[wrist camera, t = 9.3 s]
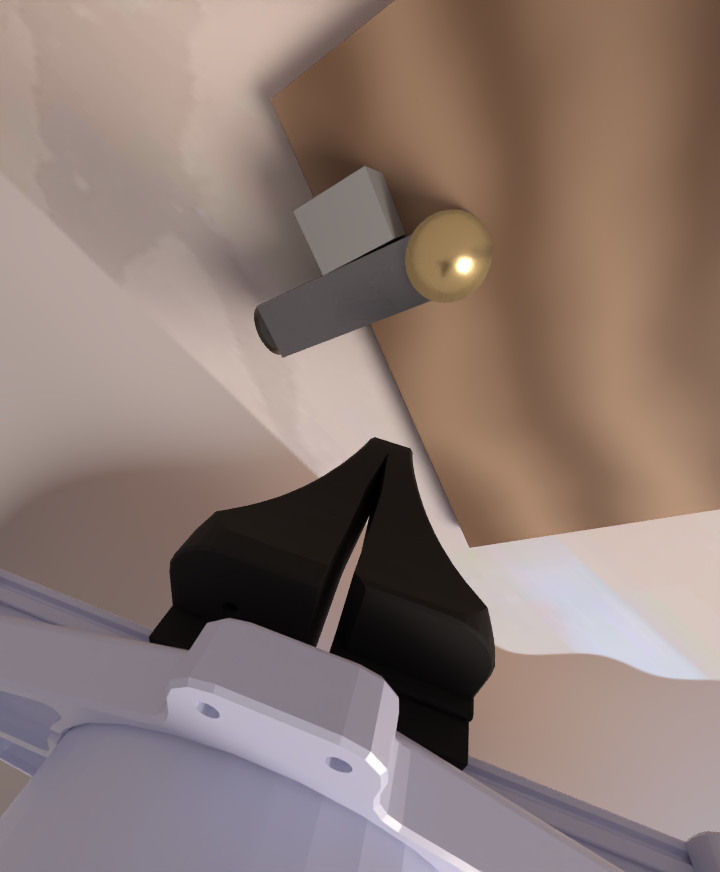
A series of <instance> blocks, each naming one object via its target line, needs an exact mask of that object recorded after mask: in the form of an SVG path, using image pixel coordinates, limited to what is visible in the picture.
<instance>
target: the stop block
mask: <svg viewBox="0 0 720 872" xmlns="http://www.w3.org/2000/svg"><path fill="white" fill-rule="evenodd" d="M293 213H294V215H295V217H296V219H297V221H298V224H299V226H300V228H301V230H302V232H303V234H304V236H305V238H306V241H307V243H308V245H309V247H310V249H311V251H312V253H313V256H314V258H315V260H316V262H317V264H318V266H319V268H320V270H321V273H322V275H325V274H328V273H330V272H332V271H334V270H336V269H338V268H341V267H343V266H345V265H347V264H349V263H351V262H354V261H355V260H357V259H359V258H361V257H363V256H365V255H367V254H369V253H371V252H373V251H375V250H377V249H378V248H380V247H382V246H384V245H386V244H388V243H390V242H392V241H394V240H396V239H398V238H400V237H401V236H403V235H405V231H404V229H403V226H402V223H401V221H400V218H399V216H398V213H397V210H396V208H395V205H394V202H393V200H392V197H391V194H390V192H389V189H388V186H387V184H386V181H385V178H384V176H383V173H381V172H379V171H376V170H374V169H371V168H369V167H366V166H364V167H362V168H361V169H359V170H357V171H356V172H354V173H353V174H351V175H349V176H348V177H346V178H345V179H343V180H342V181H340V182H338V183H337V184H335V185H334V186H332V187H330V188H329V189H327V190H326V191H324V192H322V193H321V194H319V195H318V196H316V197H315V198H313V199H311V200H310V201H308V202H307V203H305V204H303V205H302V206H300V207H299V208H297V209H295V210H294V211H293Z"/></svg>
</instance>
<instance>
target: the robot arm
mask: <svg viewBox="0 0 720 872" xmlns="http://www.w3.org/2000/svg"><path fill="white" fill-rule="evenodd" d="M412 453H413V452H412V451H411V449H410V448H407V447H404V446H401V445H398V444H395V443H391V442H388V441H385V440H382V439H379V438H376V437H374V438H372V439H370V440H369V441H368V442H367V443H366V444H365V445H364V446H363V447H362V448H361V449H360V450H359V451H358V452H357V453H355V454H354V455H353V456H352V457H350V458H349V459H348V460H346V461H345V462H344V463H342V464H341V465H340V466H338V467H337V468H335V469H333V470H332V471H330V472H329V473H327V474H326V475H324V476H322V477H321V478H319V479H317V480H315V481H314V482H312V483H310V484H308V485H306V486H304V487H302V488H299V489H297V490H295V491H292V492H290V493H288V494H285V495H282V496H280V497H277V498H273V499H270V500H267V501H264V502H260V503H257V504H252V505H248V506H243V507H238V508H233V509H228V510H222V511H216V512H215V513H214V514H213V515H212V516H211V517H210V518H208V519H207V520H206V521H205V522H204V523H203V524H202V525H201V526H200V527H198V528H197V529H196V530H195V531H194V532H193V534H192V535H191V536H190V537H189V538H188V539H187V540H186V542H185V543H184V544H183V545H182V546H181V547H180V548H179V550H178V551H177V552H176V553H175V555H174V556H173V558H172V559H171V561H170V581H171V591H172V602H173V606H172V607H171V608H170V610H169V611H168V612H167V614H166V615H165V616H164V618H163V619H162V620H161V622H160V623H159V624H158V625H157V627H156V628H155V629H154V630H152V629H150V628H147V627H144V626H142V625H139V624H137V623H135V622H132V621H130V620H127V619H124V618H122V617H120V616H117V615H115V614H112V613H110V612H107V611H105V610H102V609H100V608H97V607H94V606H92V605H90V604H87V603H85V602H82V601H79V600H77V599H74V598H72V597H69V596H67V595H64V594H62V593H59V592H57V591H54V590H52V589H49V588H47V587H44V586H42V585H39V584H37V583H34V582H32V581H29V580H27V579H24V578H22V577H19V576H17V575H14V574H12V573H9V572H7V571H4V570H2V569H0V760H1V761H3V762H5V763H7V764H9V765H11V766H12V767H14V768H16V769H18V770H20V771H21V772H23V773H25V774H27V775H28V776H30V777H32V778H31V779H30V781H29V782H28V783H27V784H26V786H25V787H24V788H23V790H22V791H21V792H20V794H19V795H18V796H17V797H16V798H15V800H14V801H13V802H12V804H11V805H10V806H9V807H8V809H7V810H6V811H5V812H4V814H3V815H2V816H1V818H0V872H720V833H719V832H709V831H708V832H702V833H698V834H696V835H694V836H692V837H691V838H689V839H688V840H687V841H686V842H685V841H682V840H680V839H677V838H675V837H672V836H669V835H667V834H664V833H662V832H659V831H657V830H654V829H652V828H649V827H647V826H644V825H642V824H639V823H637V822H634V821H632V820H629V819H627V818H624V817H622V816H619V815H617V814H614V813H612V812H609V811H607V810H604V809H602V808H599V807H597V806H594V805H592V804H589V803H587V802H584V801H581V800H579V799H577V798H574V797H571V796H569V795H567V794H564V793H562V792H559V791H557V790H554V789H552V788H549V787H547V786H544V785H541V784H539V783H536V782H534V781H531V780H529V779H526V778H524V777H521V776H519V775H516V774H514V773H511V772H509V771H506V770H504V769H501V768H499V767H496V766H494V765H491V764H489V763H486V762H483V761H481V760H478V759H476V758H474V757H471V756H469V755H468V734H469V722H470V721H471V720H472V718H473V709H474V707H473V706H474V705H473V703H474V696H475V695H476V694H477V693H478V691H479V690H480V689H481V687H482V686H483V685H484V684H485V682H486V681H487V680H488V678H489V677H490V676H491V674H492V672H493V669H494V667H495V645H494V637H493V632H492V626H491V621H490V616H489V612H488V608H487V606H486V605H485V604H484V603H483V602H482V601H481V599H480V598H479V597H478V596H477V595H476V593H475V592H474V591H473V590H472V589H471V588H470V586H469V585H468V584H467V583H466V582H465V580H464V579H463V578H462V576H461V575H460V574H459V572H458V571H457V569H456V568H455V567H454V565H453V564H452V562H451V561H450V559H449V557H448V556H447V554H446V553H445V551H444V549H443V548H442V546H441V544H440V542H439V540H438V539H437V537H436V535H435V533H434V531H433V528H432V526H431V524H430V522H429V520H428V517H427V515H426V512H425V509H424V507H423V504H422V501H421V498H420V494H419V491H418V487H417V483H416V479H415V474H414V468H413V460H412ZM369 515H370V516H369ZM368 517H369V520H368ZM367 520H368V525H367V529H366V534H365V538H364V543H363V547H362V552H361V555H360V557H359V560H358V563H357V566H356V569H355V571H354V575H353V578H352V581H351V584H350V588H349V591H348V595H347V598H346V601H345V604H344V608H343V611H342V614H341V617H340V621H339V624H338V627H337V631H336V634H335V637H334V640H333V643H332V646H331V649H330V652H326V651H324V650H321V649H319V648H316V646H317V643H318V640H319V637H320V635H321V632H322V629H323V626H324V623H325V620H326V618H327V615H328V612H329V609H330V606H331V603H332V600H333V598H334V595H335V592H336V589H337V587H338V584H339V581H340V578H341V576H342V573H343V571H344V569H345V566H346V564H347V562H348V560H349V558H350V556H351V553H352V551H353V549H354V547H355V545H356V543H357V541H358V539H359V536H360V534H361V532H362V530H363V528H364V526H365V524H366V522H367Z"/></svg>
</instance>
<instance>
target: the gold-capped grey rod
mask: <svg viewBox="0 0 720 872" xmlns="http://www.w3.org/2000/svg"><path fill="white" fill-rule="evenodd" d="M491 261H492V244H491V239H490V236H489V234H488V232H487V229H486V228H485V226H484V225H483V223H482V222H481V221H480V220H479V219H478V218H477V217H476V216H475V215H473V214H471V213H469V212H468V211H467V210H464V211H463V210H453V209H451V210H444V211H440V212H437V213H435V214H433V215H431V216H429V217H428V218H426V219H425V220H423V221H422V222H421V223H420V224H419V225H418V227H417V228H416V229H415V230H414V232H413V234H412V235H410V236H408V237H406V238H403V239H401V240H399V241H397V242H395V243H393V244H390V245H388V246H386V247H384V248H382V249H380V250H377V251H375V252H373V253H371V254H369V255H367V256H364V257H362V258H360V259H358V260H356V261H354V262H351V263H349V264H347V265H345V266H343V267H341V268H338V269H336V270H334V271H332V272H330V273H328V274H325V275H323V276H321V277H319V278H317V279H315V280H312V281H310V282H308V283H306V284H304V285H302V286H299V287H297V288H295V289H293V290H291V291H289V292H286V293H284V294H282V295H280V296H278V297H276V298H273V299H271V300H269V301H267V302H265V303H263V304H260V305H258V306H257V307H256V309H255V312H254V321H255V326H256V330H257V332H258V335H259V337H260V338H261V340H262V342H263V343H264V345H265V346H266V347H267V348H268V349H269V350H270V351H271V352H273V353H275V354H278V355H280V354H281V356H282V358H283V357H286V356H288V355H291V354H293V353H296V352H299V351H301V350H304V349H306V348H309V347H312V346H314V345H317V344H320V343H322V342H325V341H327V340H330V339H333V338H335V337H338V336H340V335H343V334H346V333H348V332H351V331H353V330H356V329H359V328H361V327H364V326H367V325H369V324H372V323H374V322H377V321H380V320H382V319H385V318H387V317H390V316H393V315H395V314H398V313H401V312H403V311H406V310H408V309H411V308H414V307H416V306H419V305H421V304H424V303H427V302H429V301H435V302H441V303H450V302H455V301H458V300H461V299H463V298H465V297H467V296H469V295H470V294H472V293H473V292H474V291H475V290H476V289H477V288H478V287H479V286H480V285H481V284H482V282H483V281H484V280H485V278H486V276H487V274H488V271H489V268H490V265H491Z"/></svg>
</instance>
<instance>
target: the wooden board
mask: <svg viewBox="0 0 720 872" xmlns="http://www.w3.org/2000/svg"><path fill="white" fill-rule="evenodd" d="M271 102H272V104H273V107H274V109H275V111H276V113H277V116H278V118H279V120H280V122H281V125H282V127H283V129H284V131H285V134H286V136H287V138H288V140H289V143H290V145H291V147H292V149H293V152H294V154H295V156H296V158H297V161H298V163H299V165H300V167H301V170H302V172H303V174H304V176H305V179H306V181H307V183H308V185H309V188H310V190H311V192H312V194H313V197H314V198H315V197H316V196H318V195H319V194H321V193H322V192H324V191H326V190H327V189H329V188H330V187H332V186H334V185H335V184H337V183H338V182H340V181H342V180H343V179H345V178H346V177H348V176H349V175H351V174H353V173H354V172H356V171H357V170H359V169H361V168H362V167H364V166H366V167H369V168H371V169H374V170H376V171H379V172H381V173H383V176H384V178H385V181H386V184H387V186H388V189H389V192H390V194H391V197H392V200H393V202H394V205H395V208H396V210H397V213H398V216H399V218H400V221H401V223H402V226H403V229H404V231H405V235H403V236H401V237H400V238H398V239H396V240H394V241H392V242H390V243H388V244H386V245H384V246H382V247H380V248H378V249H377V250H380V249H382V248H384V247H386V246H388V245H390V244H393V243H395V242H397V241H399V240H401V239H403V238H406V237H408V236H410V235H412V234H413V232H414V230H415V229H416V228H417V227H418V225H419V224H420V223H421V222H422V221H423V220H425V219H426V218H428V217H429V216H431V215H433V214H435V213H437V212H440V211H444V210H451V209H453V210H463V211H464V210H467V211H468V212H469V213H471V214H473V215H475V216H476V217H477V218H478V219H479V220H480V221H481V222H482V223H483V225H484V226H485V228H486V229H487V232H488V234H489V236H490V239H491V244H492V261H491V265H490V268H489V271H488V274H487V276H486V278H485V280H484V281H483V282H482V284H481V285H480V286H479V287H478V288H477V289H476V290H475V291H474V292H473V293H472V294H470V295H469V296H467V297H465V298H463V299H461V300H458V301H455V302H450V303H441V302H435V301H429V302H427V303H424V304H421V305H419V306H416V307H414V308H411V309H408V310H406V311H403V312H401V313H398V314H395V315H393V316H390V317H387V318H385V319H382V320H380V321H377V322H374V323H372V324H370V325H371V327H372V329H373V332H374V334H375V336H376V338H377V341H378V343H379V345H380V347H381V350H382V352H383V354H384V356H385V359H386V361H387V363H388V365H389V368H390V370H391V372H392V374H393V377H394V379H395V381H396V383H397V386H398V388H399V390H400V392H401V395H402V397H403V399H404V401H405V404H406V406H407V408H408V410H409V413H410V415H411V417H412V419H413V422H414V424H415V426H416V428H417V431H418V433H419V435H420V437H421V440H422V442H423V444H424V446H425V449H426V451H427V453H428V455H429V458H430V460H431V462H432V464H433V467H434V469H435V471H436V473H437V476H438V478H439V480H440V482H441V485H442V487H443V489H444V491H445V494H446V496H447V498H448V500H449V503H450V505H451V507H452V509H453V512H454V514H455V516H456V518H457V521H458V523H459V525H460V527H461V530H462V532H463V534H464V536H465V539H466V541H467V543H468V545H469V548H471V547H477V546H484V545H490V544H497V543H503V542H510V541H516V540H523V539H529V538H536V537H542V536H549V535H555V534H562V533H568V532H575V531H581V530H588V529H594V528H601V527H607V526H614V525H620V524H627V523H633V522H640V521H646V520H653V519H659V518H666V517H672V516H679V515H685V514H692V513H698V512H705V511H711V510H718V509H720V0H394V1H393V2H392V3H391V4H389V5H388V6H387V7H386V8H384V9H383V10H382V11H381V12H379V13H378V14H377V15H376V16H374V17H373V18H372V19H371V20H369V21H368V22H367V23H366V24H364V25H363V26H362V27H361V28H359V29H358V30H357V31H356V32H354V33H353V34H352V35H351V36H349V37H348V38H347V39H346V40H344V41H343V42H342V43H341V44H339V45H338V46H337V47H336V48H334V49H333V50H332V51H331V52H329V53H328V54H327V55H326V56H324V57H323V58H322V59H321V60H319V61H318V62H317V63H316V64H314V65H313V66H312V67H311V68H309V69H308V70H307V71H306V72H304V73H303V74H302V75H301V76H299V77H298V78H297V79H296V80H294V81H293V82H292V83H291V84H289V85H288V86H287V87H286V88H284V89H283V90H282V91H281V92H279V93H278V94H277V95H276V96H274V97H273V98H272V99H271ZM377 250H375V251H377ZM375 251H373V252H375ZM373 252H371V253H373ZM371 253H369V254H371ZM369 254H367V255H369ZM367 255H365V256H367ZM363 257H364V256H363ZM361 258H362V257H361ZM359 259H360V258H359ZM357 260H358V259H357ZM355 261H356V260H355Z"/></svg>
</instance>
